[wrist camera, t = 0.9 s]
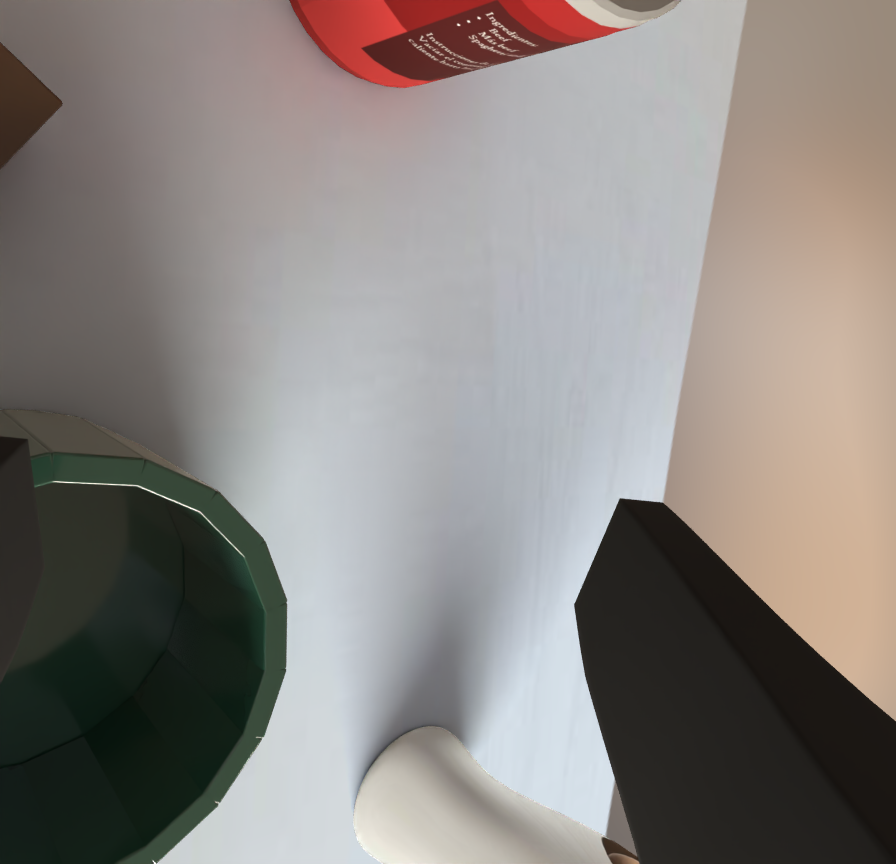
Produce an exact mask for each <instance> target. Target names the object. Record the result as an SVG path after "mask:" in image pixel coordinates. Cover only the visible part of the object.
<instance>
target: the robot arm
mask: <svg viewBox="0 0 896 864" xmlns="http://www.w3.org/2000/svg"><path fill="white" fill-rule="evenodd" d="M44 569H45V564H44V556H43V548H42V541H41V533H40V526H39V518H38V511H37V503H36V496H35V488H34V480H33V473H32V465H31V458H30V450H29V443H28V439H23V438H13V437H4V436H0V684H1V682H2V680H3V678H4V676H5V673H6V671H7V669H8V667H9V665H10V663H11V661H12V659H13V657H14V655H15V652H16V650H17V648H18V646H19V643H20V640H21V637H22V635H23V632H24V629H25V626H26V623H27V620H28V618H29V615H30V612H31V609H32V606H33V603H34V600H35V597H36V593H37V590H38V587H39V584H40V581H41V578H42V575H43V572H44ZM574 607H575V614H576V621H577V628H578V635H579V642H580V648H581V654H582V660H583V666H584V672H585V677H586V681H587V684H588V688H589V691H590V695H591V699H592V702H593V705H594V709H595V712H596V716H597V719H598V723H599V726H600V730H601V733H602V737H603V740H604V743H605V747H606V750H607V753H608V757H609V760H610V764H611V767H612V770H613V774H614V777H615V780H616V783H617V787H618V790H619V794H620V797H621V800H622V804H623V807H624V811H625V814H626V817H627V821H628V824H629V827H630V831H631V834H632V838H633V841H634V844H635V849H636V852H637V856H638V860H639V864H896V721H895V720H894V719H892V718H891V717H890V716H889V715H888V714H886V713H885V712H884V711H883V710H882V709H880V708H879V707H878V706H877V705H876V704H874V703H873V702H872V701H871V700H870V699H869V698H867V697H866V696H865V695H864V694H863V693H862V692H861V691H860V690H858V689H857V688H856V687H855V686H854V685H853V684H852V683H850V682H849V681H848V680H847V679H846V678H845V677H844V676H843V675H842V674H841V673H839V672H838V671H837V670H836V669H835V668H834V667H833V666H831V665H830V664H829V663H828V662H827V661H826V660H825V659H824V658H823V657H822V656H820V655H819V654H818V653H817V652H816V651H815V650H814V649H813V648H812V647H811V646H810V645H809V644H808V643H807V642H805V641H804V640H803V639H802V638H801V637H800V636H799V635H798V634H797V633H796V632H795V631H794V630H793V629H792V628H791V627H790V626H788V624H787V623H785V622H784V621H783V620H782V619H781V618H780V617H779V616H778V615H777V614H776V613H775V612H774V611H773V610H772V609H771V608H770V607H769V606H768V605H767V604H766V603H765V602H764V601H763V600H762V599H761V598H760V597H759V596H758V595H757V594H756V593H755V592H754V591H753V590H751V588H750V587H749V586H748V585H747V584H746V583H745V582H744V581H743V580H742V579H741V578H740V577H739V576H738V575H737V574H736V573H735V572H734V571H733V570H732V569H731V568H730V567H729V566H728V565H727V564H726V563H725V562H724V561H723V560H722V559H721V558H720V557H719V556H718V555H717V554H716V553H715V552H714V551H713V550H712V549H711V548H710V547H709V546H708V545H707V544H706V543H705V542H704V541H702V539H701V538H700V537H699V536H698V535H697V534H696V533H695V532H694V531H693V530H692V529H691V528H690V527H689V526H688V525H687V524H686V523H685V522H684V521H682V520H681V519H680V518H679V517H678V516H677V515H676V514H675V513H674V512H673V511H672V510H670V509H669V508H668V507H667V506H666V505H665V504H664V503H661V502H651V501H641V500H631V499H621V498H620V499H619V502H618V504H617V506H616V509H615V511H614V513H613V516H612V518H611V520H610V523H609V525H608V527H607V530H606V532H605V534H604V537H603V539H602V541H601V544H600V546H599V548H598V551H597V553H596V555H595V558H594V560H593V562H592V565H591V567H590V569H589V572H588V574H587V576H586V579H585V581H584V583H583V586H582V588H581V590H580V593H579V595H578V597H577V600H576V602H575V604H574Z"/></svg>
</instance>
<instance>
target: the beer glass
mask: <svg viewBox="0 0 896 864" xmlns="http://www.w3.org/2000/svg"><path fill="white" fill-rule="evenodd" d="M353 824H354V831H355V835H356V837H357V840H358V842H359V844H360V845H361V847H362V848H363V849H364V850H365V851H366V852H367V853H368V854H369V855H371V856H372V857H373V858H375V859H376V860H378V861H379V862H381V863H383V864H639V860H638V857H636V856H635V855H633V854H632V853H631V852H629V851H628V850H626V849H625V848H623V847H622V846H620V845H619V844H617V843H616V842H614V841H612V840H611V839H609V838H607V837H605V836H604V835H602V834H600V833H598V832H596V831H595V830H593V829H591V828H589V827H587V826H586V825H584V824H582V823H580V822H578V821H576V820H574V819H572V818H570V817H567V816H565V815H563V814H561V813H559V812H557V811H555V810H553V809H551V808H549V807H547V806H545V805H542V804H540V803H538V802H536V801H534V800H532V799H530V798H528V797H526V796H524V795H522V794H520V793H518V792H516V791H514V790H512V789H510V788H508V787H507V786H505V785H504V784H502V783H501V782H499V781H498V780H496V779H495V778H494V777H492V776H491V775H490V774H489V773H488V772H486V771H485V770H484V769H483V768H482V767H481V766H480V764H479V763H478V762H477V761H476V760H475V759H474V757H473V756H472V755H471V754H470V752H469V751H468V750H467V749H466V748H465V746H464V745H463V744H462V743H461V742H460V740H459V739H458V738H457V737H456V736H455V735H453V734H452V733H451V732H450V731H448V730H446V729H444V728H441V727H437V726H425V727H421V728H417V729H414V730H412V731H410V732H408V733H406V734H404V735H402V736H401V737H399V738H398V739H396V740H395V741H394V742H393V743H391V744H390V745H389V746H388V747H387V748H386V749H385V750H384V751H383V752H382V753H381V754H380V755H379V757H378V758H377V759H376V760H375V762H374V763H373V764H372V766H371V767H370V769H369V770H368V772H367V774H366V776H365V778H364V780H363V782H362V784H361V786H360V789H359V792H358V795H357V798H356V802H355V806H354V815H353Z"/></svg>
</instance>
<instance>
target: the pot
mask: <svg viewBox="0 0 896 864" xmlns="http://www.w3.org/2000/svg"><path fill="white" fill-rule="evenodd" d="M0 436H4V437H13V438H23V439H28V443H29V450H30V458H31V465H32V473H33V480H34V488H35V496H36V503H37V511H38V518H39V526H40V533H41V541H42V548H43V556H44V564H45V569H44V572H43V575H42V578H41V581H40V584H39V587H38V590H37V593H36V597H35V600H34V603H33V606H32V609H31V612H30V615H29V618H28V620H27V623H26V626H25V629H24V632H23V635H22V637H21V640H20V643H19V646H18V648H17V650H16V652H15V655H14V657H13V659H12V661H11V663H10V665H9V667H8V669H7V671H6V673H5V676H4V678H3V680H2V682H1V684H0V864H154V863H155V864H156V863H158V862H159V861H160V860H161V859H162V858H163V857H164V856H165V855H166V854H167V853H168V852H169V851H170V850H172V849H173V848H174V847H175V846H176V845H177V844H178V843H179V842H180V841H181V840H182V839H183V838H184V837H185V836H187V835H188V834H189V833H190V832H191V831H192V830H193V829H194V828H195V827H196V826H197V825H198V824H199V823H200V822H202V821H203V820H204V819H205V818H206V817H207V816H208V815H209V814H210V813H211V812H212V811H213V810H214V809H215V808H217V807H218V803H220V802H221V801H222V799H223V798H224V796H225V795H226V793H227V792H228V790H229V789H230V787H231V786H232V784H233V783H234V781H235V780H236V778H237V777H238V775H239V774H240V772H241V771H242V769H243V768H244V766H245V765H246V763H247V762H248V760H249V758H250V757H251V755H252V754H253V752H254V751H255V749H256V748H257V746H258V745H259V743H260V742H261V740H262V738H263V737H264V735H265V732H266V729H267V726H268V723H269V720H270V717H271V715H272V712H273V709H274V706H275V703H276V700H277V697H278V694H279V691H280V688H281V685H282V682H283V679H284V676H285V673H286V669H285V668H286V650H287V603H286V602H287V598H286V596H285V593H284V590H283V588H282V585H281V582H280V580H279V577H278V574H277V571H276V569H275V566H274V563H273V561H272V558H271V555H270V552H269V550H268V547H267V544H266V542H265V541H264V539H263V537H262V536H261V535H260V534H259V533H258V532H257V531H256V530H255V529H254V528H253V527H252V526H251V525H250V524H249V523H248V522H247V521H246V519H245V518H244V517H243V516H242V515H241V514H240V513H239V512H238V511H237V510H236V509H235V508H234V507H233V506H232V505H231V504H230V503H229V502H228V500H227V499H226V498H225V497H224V496H223V495H222V494H221V493H220V492H219V491H217V490H216V489H214V488H213V487H211V486H209V485H208V484H206V483H204V482H203V481H201V480H199V479H198V478H196V477H194V476H192V475H191V474H189V473H187V472H186V471H184V470H182V469H181V468H179V467H177V466H176V465H174V464H172V463H171V462H169V461H167V460H165V459H164V458H162V457H160V456H159V455H157V454H155V453H154V452H152V451H150V450H149V449H147V448H145V447H143V446H142V445H140V444H138V443H136V442H134V441H132V440H129V439H127V438H125V437H123V436H121V435H119V434H117V433H115V432H113V431H110V430H108V429H106V428H103V427H101V426H99V425H97V424H94V423H92V422H90V421H88V420H86V419H83V418H79V417H77V416H68V415H63V414H57V413H51V412H44V411H38V410H15V409H3V410H0Z"/></svg>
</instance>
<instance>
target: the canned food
mask: <svg viewBox="0 0 896 864" xmlns="http://www.w3.org/2000/svg"><path fill="white" fill-rule="evenodd" d="M680 1H681V0H290V3H291V5H292V7H293V10H294V12H295V13H296V15H297V17H298V18H299V20H300V22H301V23H302V25H303V27H304V28H305V30H306V32H307V33H308V34H309V36H310V37H311V38H312V39H313V41H314V42H315V43H316V44H317V45H318V47H319V48H320V49H321V50H322V52H324V53H325V54H326V55H327V56H328V57H329V58H330V59H331V60H333V61H334V62H335V63H336V64H337V65H338V66H339V67H341V68H343V69H344V70H346V71H348V72H349V73H351V74H353V75H354V76H356V77H358V78H361V79H364V80H367V81H370V82H373V83H376V84H380V85H384V86H389V87H400V88H406V87H412V86H417V85H422V84H426V83H429V82H433V81H437V80H441V79H444V78H448V77H452V76H456V75H460V74H463V73H467V72H471V71H475V70H478V69H482V68H486V67H490V66H494V65H497V64H501V63H505V62H509V61H513V60H516V59H520V58H524V57H528V56H531V55H535V54H539V53H543V52H547V51H550V50H554V49H558V48H562V47H566V46H569V45H573V44H577V43H581V42H584V41H588V40H592V39H596V38H600V37H603V36H607V35H610V34H612V33H615V32H618V31H622V30H626V29H629V28H633V27H637V26H640V25H642V24H643V23H645V22H647V21H649V20H652V19H656V18H658V17H660V16H661V15H663V14H665V13H667V12H668V11H670V10H672V9H673V8H674V7H675V6H676V5H677V4H678V3H679V2H680Z"/></svg>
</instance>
